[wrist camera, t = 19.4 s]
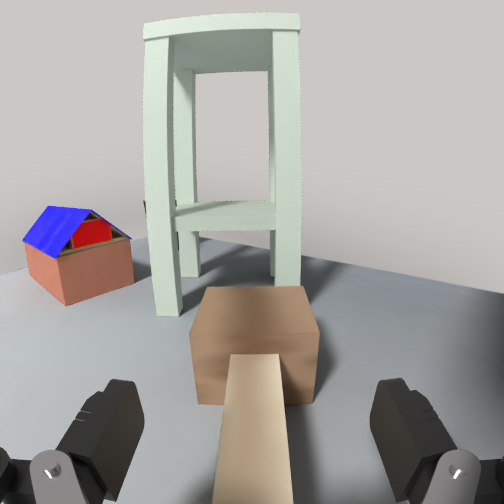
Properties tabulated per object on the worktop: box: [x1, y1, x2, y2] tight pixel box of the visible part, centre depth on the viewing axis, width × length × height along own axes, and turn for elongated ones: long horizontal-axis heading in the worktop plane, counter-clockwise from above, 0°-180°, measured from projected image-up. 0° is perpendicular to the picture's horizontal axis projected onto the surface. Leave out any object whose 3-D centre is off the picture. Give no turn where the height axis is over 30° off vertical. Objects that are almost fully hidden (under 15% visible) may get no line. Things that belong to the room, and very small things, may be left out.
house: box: [23, 206, 135, 306], centre depth 45 cm, size 12×20×12 cm, turn 53°
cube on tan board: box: [189, 286, 320, 504], centre depth 18 cm, size 8×20×6 cm, turn 179°
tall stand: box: [143, 13, 302, 317], centre depth 38 cm, size 16×16×32 cm
